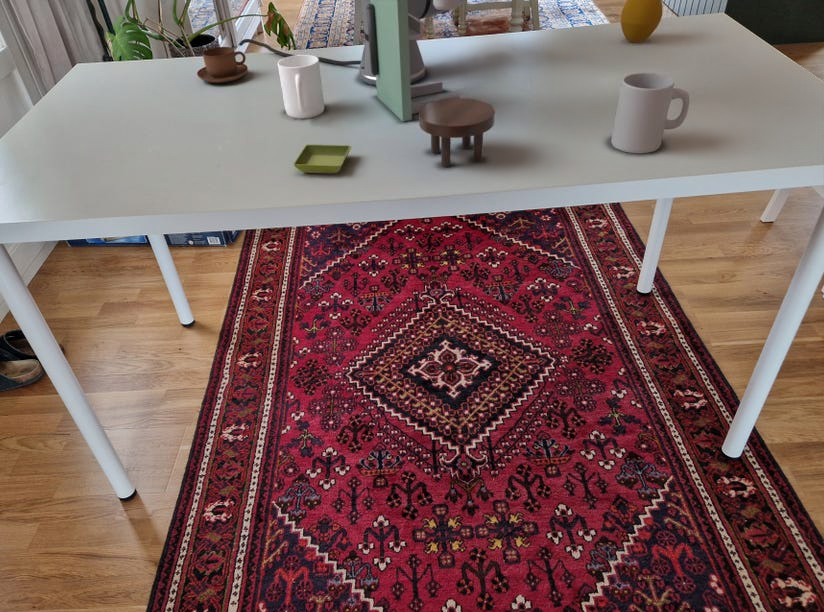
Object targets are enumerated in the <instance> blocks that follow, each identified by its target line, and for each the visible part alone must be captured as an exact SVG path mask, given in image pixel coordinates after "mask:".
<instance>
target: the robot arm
mask: <svg viewBox="0 0 824 612" xmlns="http://www.w3.org/2000/svg"><path fill="white" fill-rule="evenodd" d="M464 1H465V0H461V4H463V2H464ZM407 3H408V13H409V14H410V15H412V16H414V17H415V18H417V19H419V20H420V21H421V20H423V19H427V18H430V17H434V16H437V15H444V14H446V13H449V12H450V11H451V10H438V9H436V8H435V6H434V5H433V0H407ZM368 4H370V0H361V8H362V9H361V11H362V21H363V22H362V24H363V35H364V46H363V50H362V56H361V59H360V60H336V59H331V58H326V57H323V56H316V57H317V58H318V59H319V62H324V63H327V64H332V65H338V66H353V65H354V66H357V65H358V66H359V69H358V71H359V79H360V81H361V82H363V83H365V84H367V85H371V86H376V76H374V75H372V73H371V62H370V49H369V36H368V23H367V10H366V7H367V5H368ZM246 43H250V44H253V45H256V46H260V47H263V48H266V49H267V50H268V51H270V52H271V53H274V54H277V55H279V56H282V57H284V58H286V57H290V56H295V55H296V54H292V53H287V52H283V51H280V50H278V49H276V48H273V47H272V46H270V45H268V44H267V43H265V42H262V41H261V42H260V41H257V40H254V39H251V38H243V39H242V40H241V41H240V42H239V43H238V46H240V47H242V46H243V45H244V44H246ZM409 56H410V82H411V84H414V83H417V82H418V81H420V80H422V79H423V78H424V77H425V75H426V65H425V62H424V60H423V55H422V53H421V50H420V47H419V44H418V41H417V39H415V40H409ZM376 87H377V86H376Z"/></svg>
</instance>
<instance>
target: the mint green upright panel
mask: <svg viewBox="0 0 824 612" xmlns="http://www.w3.org/2000/svg"><path fill="white" fill-rule="evenodd" d="M366 10H367V23H368V36H369V49H370V62H371V73H372V75H374V76H376V98H378V100H380V101H381V102H382V104H384V105H385V106H386V107H387V108H388V109H389V110H390V111H391V112H392V113H393V114H394V115H395V116H396V117H397V118H398V119H400V121H402V122H403V123H404V122H408V121H412V120H413V115H414V114H415V115H416V114H419V111H420V109H421V108H422V107H423V106H425V105H427V104H429V103H431V102H435V101H438V100H443V99H451V98H461V94H459V93H457V94H451V95H447V96H442V97H436V98H430V99H426V100H425V99H424V100H420V101H419V100H418V101H415V102H412V98H415V97H419V96H420V97H421V96H426V95H431V94H436V93H442V92H443V90H444V86H443V81H434V82H429V83H423V84H418V85H412V83H411V82H410V56H409V40H415V39H416V40H420V39H421V40H422V39H423V38H424V22H423V21H422V20H421V19H420V20H419V19H417V18H415V17H414V16H412V15H410V14H409V13H408V3H407V0H370V4H368V5H367V7H366Z"/></svg>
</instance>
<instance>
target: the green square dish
mask: <svg viewBox="0 0 824 612" xmlns="http://www.w3.org/2000/svg"><path fill="white" fill-rule="evenodd" d="M351 149H352V146H351V145H345V144H344V145H343V144H342V145H341V144H309V143H308V144H306V145H304V146H303V148H302V150H301V152H300V153H299V154H298V156H297V158H296V159H295V160H294V163H293V166H294V167H295V168H296V169H297V170H299V171H301V172H302V173H305V174H338V173H339V172H340V170H341V168H342V166H343V164H344V162H345V161H346V159H347V157H348V155H349V153H350V151H351Z"/></svg>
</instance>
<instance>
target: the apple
mask: <svg viewBox="0 0 824 612" xmlns="http://www.w3.org/2000/svg"><path fill="white" fill-rule="evenodd" d="M663 7H664V5H663V1H662V0H626V1H625V3H624V5H623V7H622V9H621V13H620V26H621V32H622V34H623V37H624V38H625V40H626V41H627V42H628V43H638V42H639V43H640V42H645V41H646V40H647V39H649V38H650V37H651V35H653V33H654V32H655V31H656V29H657V28H658V27H659V24H660V23H661V21H662V17H663V9H664V8H663Z"/></svg>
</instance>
